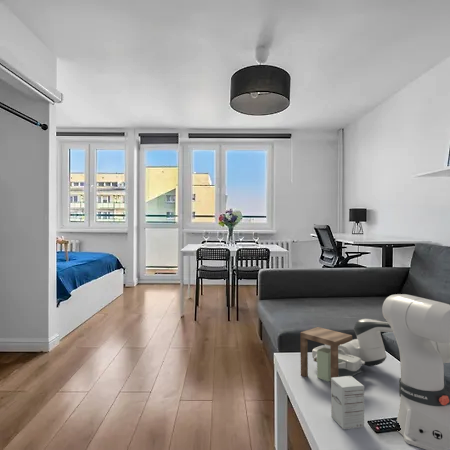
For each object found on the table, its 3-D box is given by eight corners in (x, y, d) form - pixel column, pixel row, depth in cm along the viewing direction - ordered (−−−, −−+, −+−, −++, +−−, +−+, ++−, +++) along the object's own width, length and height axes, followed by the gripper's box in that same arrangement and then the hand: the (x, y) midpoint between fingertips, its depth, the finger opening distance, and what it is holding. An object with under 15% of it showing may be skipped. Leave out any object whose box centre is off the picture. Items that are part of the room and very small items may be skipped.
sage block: (335, 378, 141) (335, 350, 141) (328, 381, 138) (327, 353, 138) (324, 374, 145) (324, 347, 145) (317, 377, 141) (317, 349, 142)
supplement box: (330, 417, 112) (330, 377, 112) (352, 414, 113) (351, 375, 113) (342, 430, 104) (342, 387, 105) (365, 427, 106) (364, 385, 106)
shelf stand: (352, 379, 139) (352, 335, 139) (335, 389, 131) (335, 341, 131) (318, 367, 151) (317, 326, 151) (300, 375, 143) (300, 332, 144)
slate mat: (361, 371, 147) (361, 370, 147) (348, 378, 140) (348, 377, 140) (335, 363, 156) (335, 362, 156) (322, 369, 150) (322, 368, 150)
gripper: (367, 369, 142) (348, 379, 133) (323, 356, 157) (304, 363, 148) (367, 354, 142) (348, 362, 133) (323, 341, 157) (304, 348, 148)
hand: (324, 363), depth 141 cm, fingers open, 8 cm apart
